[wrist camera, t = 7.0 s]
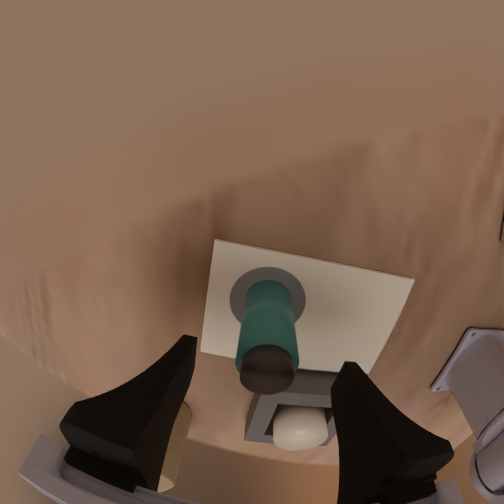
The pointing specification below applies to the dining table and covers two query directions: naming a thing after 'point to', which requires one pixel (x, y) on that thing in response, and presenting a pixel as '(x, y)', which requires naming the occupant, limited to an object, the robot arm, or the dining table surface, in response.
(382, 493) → the robot arm
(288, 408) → the button
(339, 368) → the paper
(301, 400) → the button housing
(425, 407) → the dining table surface
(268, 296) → the bottle
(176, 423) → the candle
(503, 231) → the skincare box
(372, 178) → the dining table surface
